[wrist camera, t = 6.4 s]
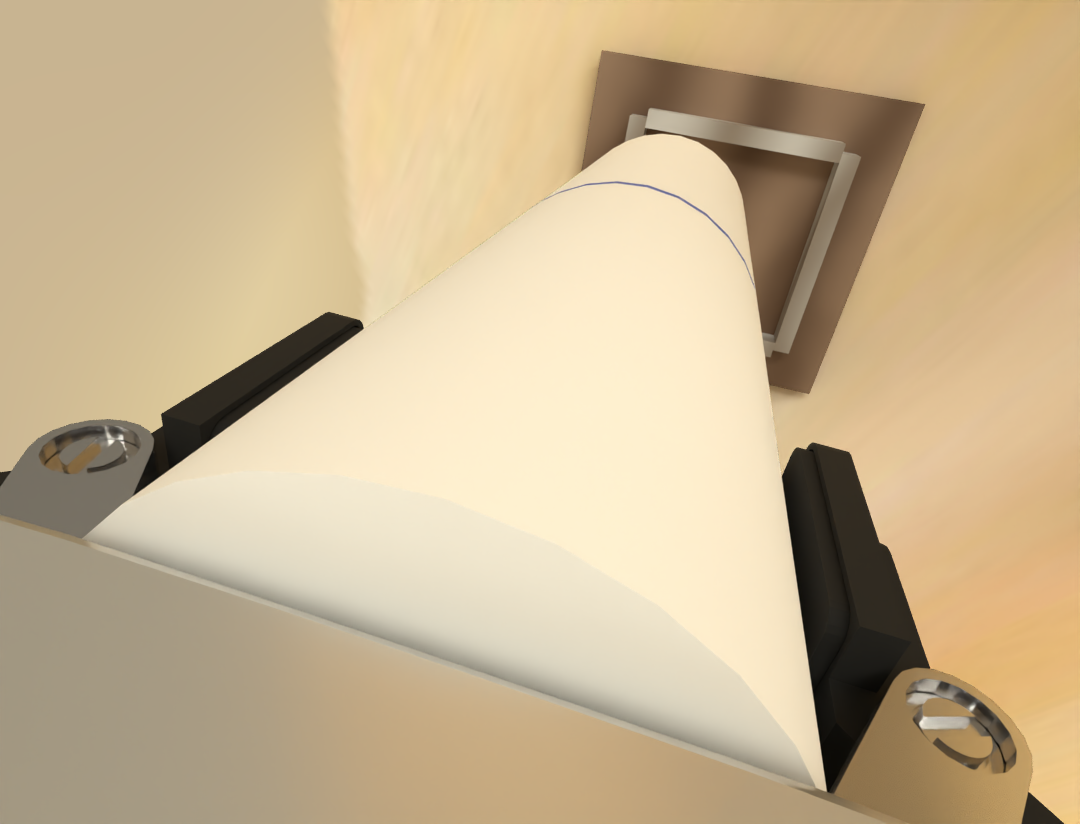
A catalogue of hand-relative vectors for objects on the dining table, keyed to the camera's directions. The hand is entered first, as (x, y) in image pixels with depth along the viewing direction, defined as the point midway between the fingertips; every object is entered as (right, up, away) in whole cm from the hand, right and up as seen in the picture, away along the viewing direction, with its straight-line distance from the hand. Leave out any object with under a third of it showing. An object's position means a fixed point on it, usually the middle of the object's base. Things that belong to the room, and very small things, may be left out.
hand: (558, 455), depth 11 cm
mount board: (+11, +12, +31) cm, 35 cm away
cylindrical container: (+5, +9, +16) cm, 19 cm away
